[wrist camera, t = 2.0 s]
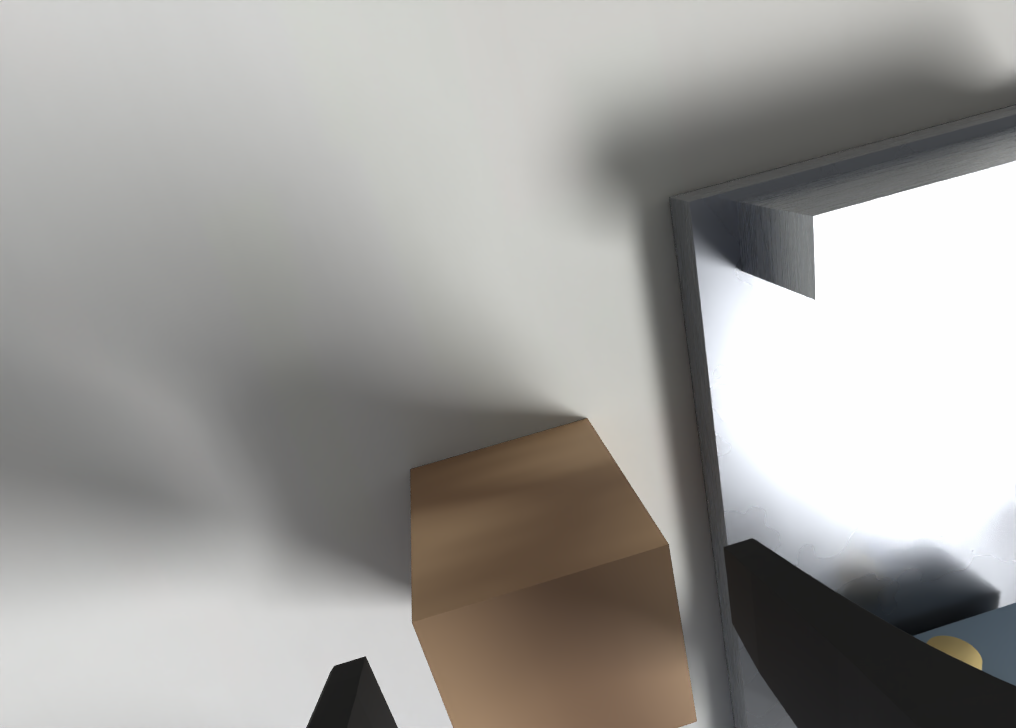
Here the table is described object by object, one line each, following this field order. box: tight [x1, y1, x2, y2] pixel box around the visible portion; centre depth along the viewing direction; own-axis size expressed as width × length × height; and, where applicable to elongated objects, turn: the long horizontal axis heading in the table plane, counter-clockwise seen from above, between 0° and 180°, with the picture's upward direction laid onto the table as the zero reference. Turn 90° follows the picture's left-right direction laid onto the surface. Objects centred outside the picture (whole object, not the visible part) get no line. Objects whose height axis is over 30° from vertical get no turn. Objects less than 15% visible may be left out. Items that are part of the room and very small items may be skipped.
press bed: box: [669, 105, 1016, 728], centre depth 15 cm, size 20×10×4 cm, turn 13°
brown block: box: [410, 418, 697, 728], centre depth 13 cm, size 4×4×5 cm
